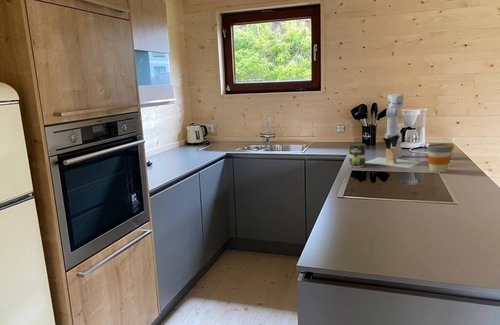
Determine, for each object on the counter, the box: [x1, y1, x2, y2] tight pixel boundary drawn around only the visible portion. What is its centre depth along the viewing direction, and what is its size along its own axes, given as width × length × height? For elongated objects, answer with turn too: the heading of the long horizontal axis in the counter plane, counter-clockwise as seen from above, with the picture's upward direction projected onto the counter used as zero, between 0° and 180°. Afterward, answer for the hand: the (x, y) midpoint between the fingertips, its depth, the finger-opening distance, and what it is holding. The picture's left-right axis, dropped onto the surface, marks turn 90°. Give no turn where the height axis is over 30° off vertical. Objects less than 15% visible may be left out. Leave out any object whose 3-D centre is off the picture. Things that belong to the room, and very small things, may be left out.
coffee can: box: [348, 142, 367, 168], centre depth 246 cm, size 10×10×14 cm
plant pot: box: [438, 142, 455, 156], centre depth 252 cm, size 10×10×10 cm
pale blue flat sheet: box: [365, 156, 422, 169], centre depth 249 cm, size 20×30×1 cm, turn 44°
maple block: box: [385, 154, 398, 164], centre depth 247 cm, size 5×5×5 cm
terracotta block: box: [385, 147, 397, 156], centre depth 246 cm, size 5×5×5 cm
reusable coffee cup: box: [427, 143, 452, 173], centre depth 221 cm, size 13×13×15 cm
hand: (391, 147), depth 245 cm, fingers open, 7 cm apart
